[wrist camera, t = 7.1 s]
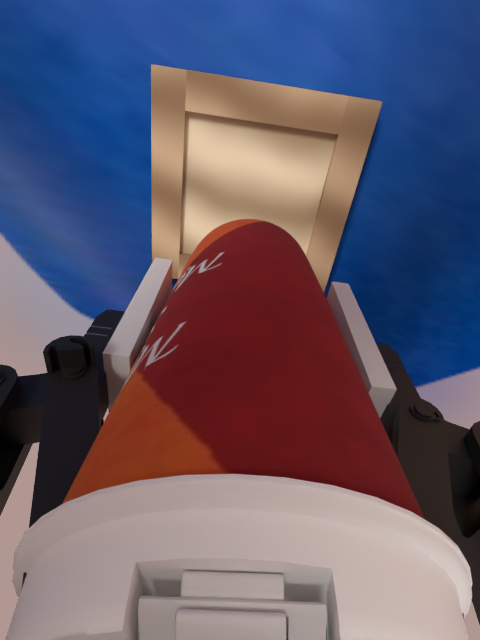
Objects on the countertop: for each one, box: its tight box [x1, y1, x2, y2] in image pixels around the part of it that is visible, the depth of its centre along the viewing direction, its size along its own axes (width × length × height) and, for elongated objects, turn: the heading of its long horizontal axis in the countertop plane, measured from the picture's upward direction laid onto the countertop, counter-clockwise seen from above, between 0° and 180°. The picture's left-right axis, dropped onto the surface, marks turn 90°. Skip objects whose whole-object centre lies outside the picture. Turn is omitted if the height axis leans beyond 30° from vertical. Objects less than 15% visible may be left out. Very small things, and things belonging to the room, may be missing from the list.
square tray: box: [151, 64, 382, 292], centre depth 30 cm, size 16×16×2 cm
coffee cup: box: [6, 219, 473, 640], centre depth 12 cm, size 8×8×15 cm
